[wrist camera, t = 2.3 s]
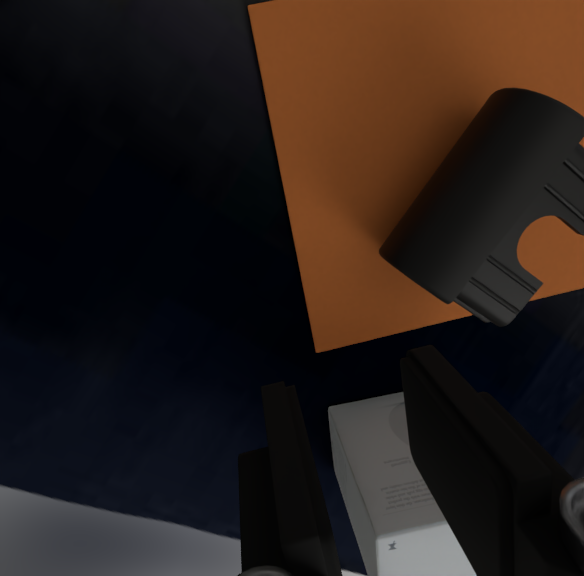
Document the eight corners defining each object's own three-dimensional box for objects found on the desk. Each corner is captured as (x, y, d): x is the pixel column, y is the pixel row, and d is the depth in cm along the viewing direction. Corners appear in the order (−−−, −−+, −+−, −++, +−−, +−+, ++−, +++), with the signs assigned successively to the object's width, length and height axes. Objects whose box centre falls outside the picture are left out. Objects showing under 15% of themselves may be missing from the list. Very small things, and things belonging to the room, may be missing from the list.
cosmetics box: (334, 475, 33) (379, 622, 23) (326, 404, 30) (373, 535, 21) (464, 447, 34) (561, 578, 24) (466, 377, 31) (575, 490, 22)
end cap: (465, 90, 24) (549, 78, 18) (547, 163, 26) (648, 175, 20) (359, 239, 26) (401, 275, 20) (443, 295, 28) (505, 343, 22)
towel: (247, 6, 21) (247, 5, 21) (654, -72, 23) (659, -74, 23) (315, 351, 29) (316, 353, 29) (620, 276, 30) (624, 278, 30)
